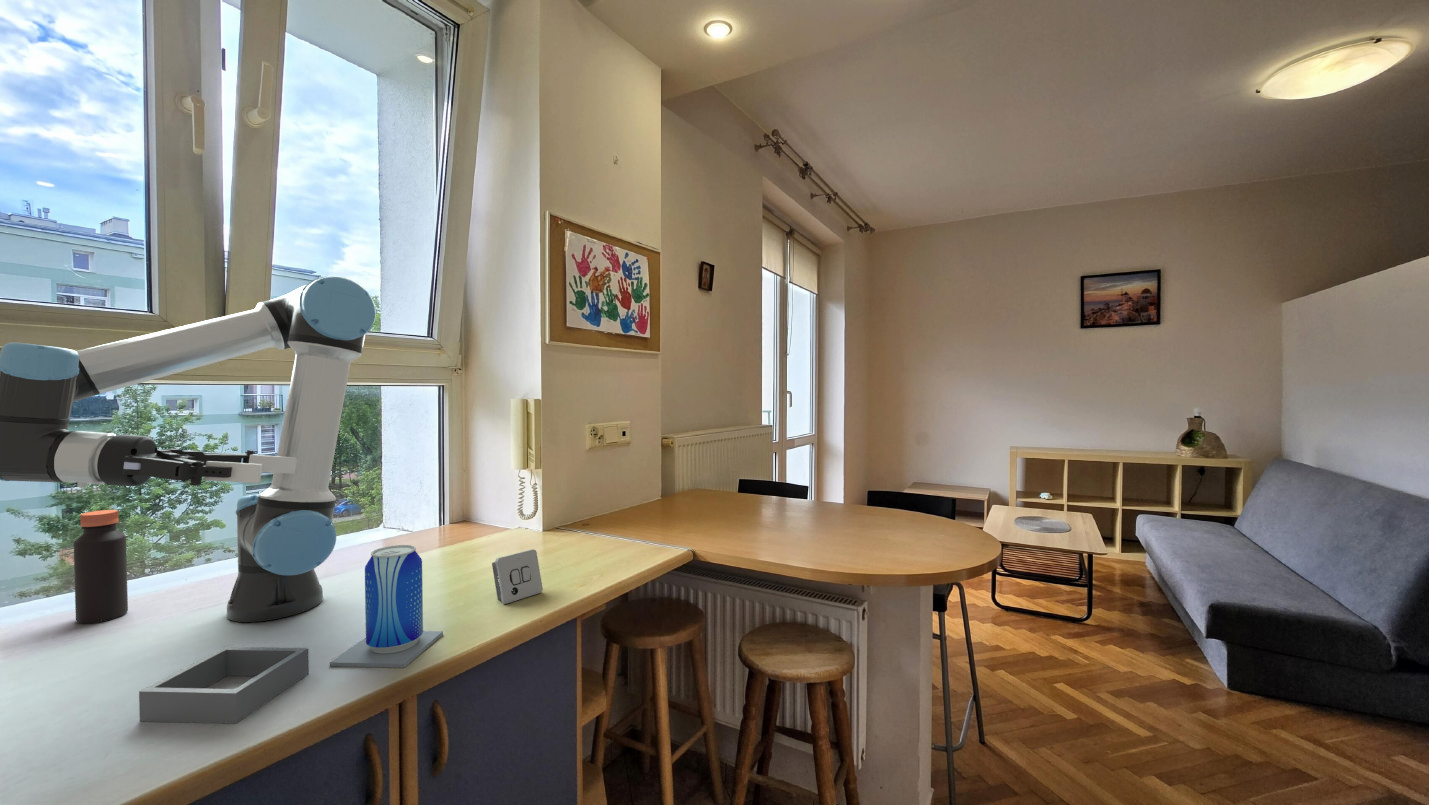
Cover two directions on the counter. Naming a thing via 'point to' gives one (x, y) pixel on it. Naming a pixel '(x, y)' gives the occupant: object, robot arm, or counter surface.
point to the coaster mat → (367, 658)
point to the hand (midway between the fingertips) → (281, 469)
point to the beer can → (393, 599)
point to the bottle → (100, 568)
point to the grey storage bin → (193, 703)
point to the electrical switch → (517, 576)
